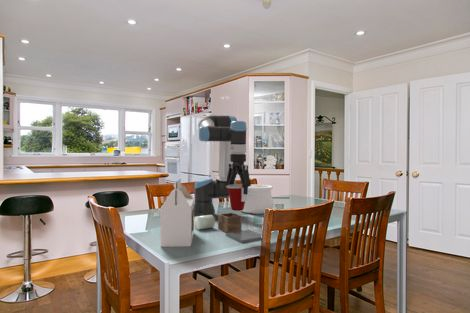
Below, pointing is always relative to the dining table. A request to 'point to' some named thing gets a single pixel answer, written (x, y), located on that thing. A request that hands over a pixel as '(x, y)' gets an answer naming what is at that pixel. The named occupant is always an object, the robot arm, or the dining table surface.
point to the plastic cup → (236, 197)
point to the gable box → (177, 218)
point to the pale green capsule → (204, 222)
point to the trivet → (244, 236)
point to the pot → (258, 199)
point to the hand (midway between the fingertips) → (237, 199)
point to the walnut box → (229, 222)
